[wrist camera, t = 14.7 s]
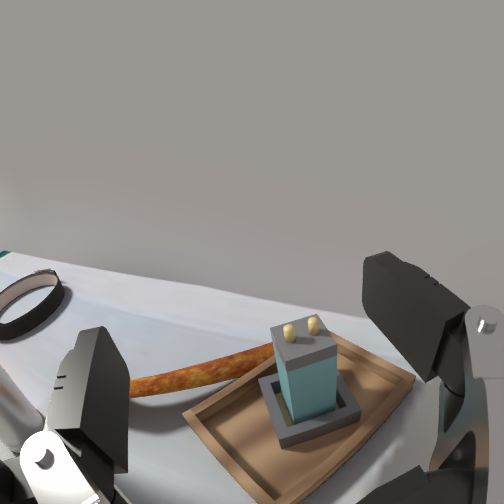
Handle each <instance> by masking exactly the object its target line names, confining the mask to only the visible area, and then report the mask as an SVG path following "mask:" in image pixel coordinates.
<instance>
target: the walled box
mask: <svg viewBox="0 0 504 504" xmlns="http://www.w3.org/2000/svg"><path fill="white" fill-rule="evenodd" d="M328 331H329V330H328ZM329 332H330V331H329ZM330 334H331V335H332V337H333V338H334V340H335V341H336V343H337V370H338V372H339V373H340V375H341V377H342V378H343V380H344V381H345V383H346V385H347V386H348V388H349V390H350V391H351V393H352V395H353V396H354V398H355V399H356V401H357V403H358V404H359V406H360V408H361V409H362V411H361V417H360V421H358V422H356V423H354V424H351V425H349V426H346V427H344V428H341V429H339V430H336V431H334V432H331V433H328V434H326V435H323V436H320V437H317V438H315V439H312V440H309V441H306V442H303V443H300V444H297V445H294V446H290V447H287V448H284V449H281V447H280V445H279V442H278V439H277V436H276V433H275V430H274V428H273V425H272V422H271V419H270V416H269V413H268V410H267V407H266V404H265V401H264V398H263V395H262V392H261V389H260V385H259V381H258V379H259V378H262V377H266V376H269V375H273V374H276V373H278V369H277V363H276V358H275V354H274V355H273V356H272V357H270V358H269V359H267V360H266V361H264V362H263V363H261V364H260V365H258V366H257V367H255V368H254V369H253V370H251V371H250V372H248V373H247V374H245V375H244V376H242V377H240V378H239V379H237V380H236V381H234V382H233V383H231V384H230V385H228V386H227V387H225V388H223V389H222V390H220V391H219V392H217V393H215V394H214V395H212V396H211V397H209V398H207V399H206V400H204V401H202V402H201V403H199V404H197V405H196V406H194V407H192V408H191V409H189V410H187V411H186V412H184V413H182V415H183V416H184V418H185V420H186V421H187V423H188V424H189V426H190V427H191V428H192V429H193V431H194V432H195V433H196V435H197V436H198V437H199V438H200V440H201V441H202V442H203V443H204V445H205V446H206V447H207V448H208V449H209V451H210V452H211V453H212V454H213V455H214V457H215V458H216V459H217V460H218V461H219V462H220V463H221V465H222V466H223V467H224V468H225V469H226V470H227V471H228V473H229V474H230V475H231V476H232V477H233V478H234V479H235V480H236V481H237V482H238V483H239V485H240V486H241V487H242V488H243V489H244V490H245V491H246V492H247V493H248V494H249V495H250V496H251V497H252V498H253V499H254V500H255V501H256V502H257V503H258V504H299V503H300V502H301V501H302V500H304V499H305V498H306V497H307V496H309V495H310V494H311V493H312V492H313V491H315V490H316V489H317V488H318V487H319V486H321V485H322V484H323V483H324V482H325V481H326V480H327V479H329V478H330V477H331V476H332V475H333V474H334V473H335V472H336V471H337V470H338V469H340V468H341V467H342V466H343V465H344V464H345V463H346V462H347V461H348V460H349V459H350V458H351V457H352V456H353V455H354V454H355V453H356V452H357V451H358V450H359V449H360V448H361V447H362V446H363V445H364V444H365V443H366V442H367V441H368V440H369V439H370V437H371V436H372V435H373V434H374V433H375V432H376V431H377V430H378V429H379V428H380V427H381V425H382V424H383V423H384V422H385V421H386V420H387V419H388V417H389V416H390V415H391V414H392V413H393V411H394V410H395V409H396V408H397V407H398V405H399V404H400V403H401V402H402V401H403V399H404V398H405V397H406V395H407V394H408V393H409V392H410V390H411V389H412V387H413V384H414V381H415V378H416V376H415V375H413V374H411V373H409V372H407V371H405V370H403V369H401V368H399V367H397V366H396V365H394V364H392V363H390V362H388V361H386V360H384V359H382V358H380V357H378V356H376V355H374V354H372V353H370V352H368V351H366V350H364V349H363V348H361V347H359V346H357V345H355V344H353V343H351V342H349V341H347V340H345V339H344V338H342V337H340V336H338V335H336V334H334V333H332V332H330ZM280 393H281V392H280ZM336 402H337V401H336ZM337 403H338V402H337ZM338 405H339V404H338ZM339 407H340V406H339ZM340 409H341V408H340Z"/></svg>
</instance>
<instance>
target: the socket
mask: <svg viewBox="0 0 504 504" xmlns="http://www.w3.org/2000/svg"><path fill="white" fill-rule="evenodd" d="M258 381H259V385H260V389H261V392H262V395H263V398H264V401H265V404H266V407H267V410H268V413H269V416H270V419H271V422H272V425H273V428H274V430H275V433H276V436H277V439H278V442H279V445H280V447H281V449H284V448H287V447H290V446H294V445H297V444H300V443H303V442H306V441H309V440H312V439H315V438H317V437H320V436H323V435H326V434H328V433H331V432H334V431H336V430H339V429H341V428H344V427H346V426H349V425H351V424H354V423H356V422H358V421H360V417H361V411H362V409H361V408H360V406H359V404H358V403H357V401H356V399H355V398H354V396H353V395H352V393H351V391H350V390H349V388H348V386H347V385H346V383H345V381H344V380H343V378H342V377H341V375H340V373H339V372H338V370H337V387H336V401H337V402H338V403H337V402H336V410H335V411H333V412H330V413H328V414H325V415H322V416H319V417H317V418H314V419H311V420H308V421H305V422H302V423H299V424H296V425H293V422H292V420H291V417H290V415H289V412H288V410H287V407H286V405H285V402H284V400H283V397H282V391H281V385H280V380H279V374H278V373H276V374H273V375H269V376H266V377H262V378H259V379H258ZM280 392H281V393H280ZM338 404H339V405H338ZM339 406H340V407H339ZM340 408H341V409H340Z"/></svg>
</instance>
